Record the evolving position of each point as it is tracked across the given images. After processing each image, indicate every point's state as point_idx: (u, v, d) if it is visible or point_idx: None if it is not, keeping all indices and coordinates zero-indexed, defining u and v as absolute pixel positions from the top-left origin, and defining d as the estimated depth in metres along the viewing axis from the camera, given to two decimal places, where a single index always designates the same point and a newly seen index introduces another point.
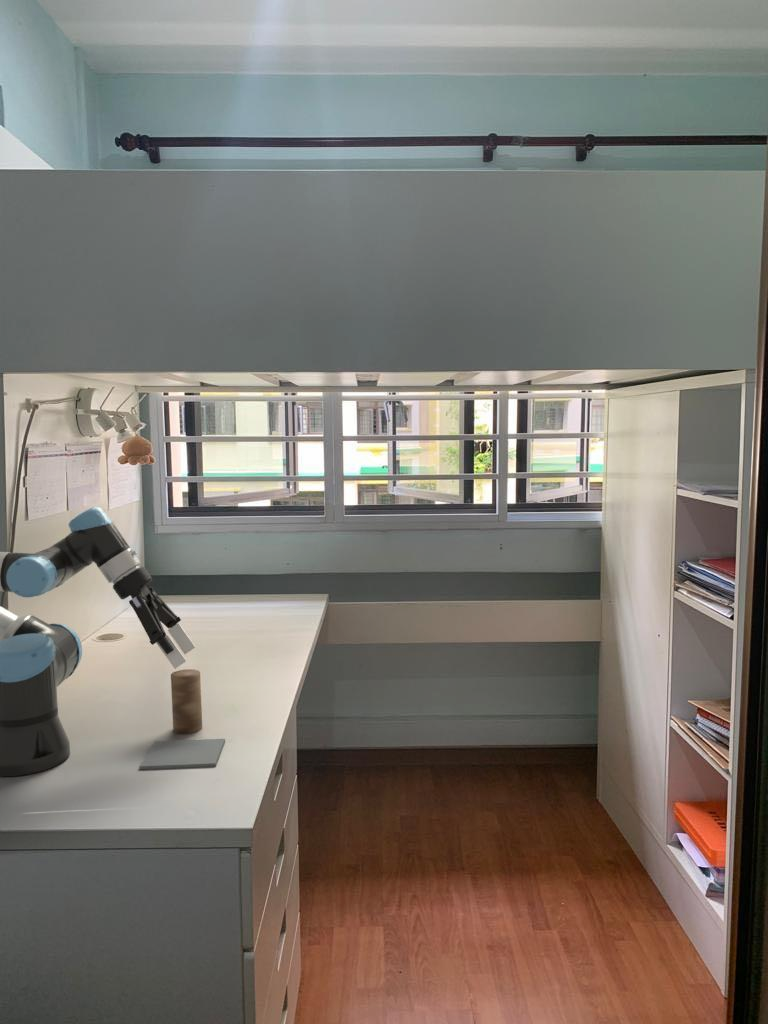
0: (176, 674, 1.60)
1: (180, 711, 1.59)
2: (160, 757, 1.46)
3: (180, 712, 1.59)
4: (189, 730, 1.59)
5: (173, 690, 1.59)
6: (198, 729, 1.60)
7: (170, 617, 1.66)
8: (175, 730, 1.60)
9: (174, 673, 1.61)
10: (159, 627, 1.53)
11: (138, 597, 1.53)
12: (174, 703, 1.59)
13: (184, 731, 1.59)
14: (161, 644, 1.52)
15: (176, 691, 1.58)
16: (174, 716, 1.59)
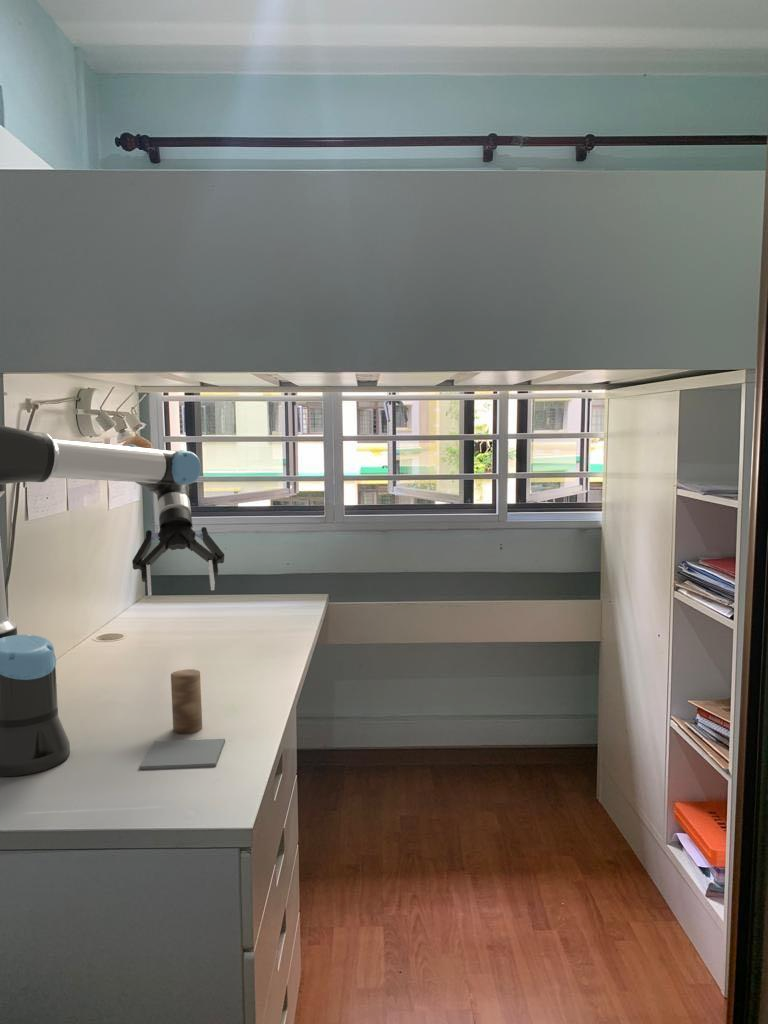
0: (176, 674, 1.60)
1: (180, 711, 1.59)
2: (160, 757, 1.46)
3: (180, 712, 1.59)
4: (189, 730, 1.59)
5: (173, 690, 1.59)
6: (198, 729, 1.60)
7: (152, 563, 1.73)
8: (175, 730, 1.60)
9: (174, 673, 1.61)
10: None
11: None
12: (174, 703, 1.59)
13: (184, 731, 1.59)
14: None
15: (176, 691, 1.58)
16: (174, 716, 1.59)
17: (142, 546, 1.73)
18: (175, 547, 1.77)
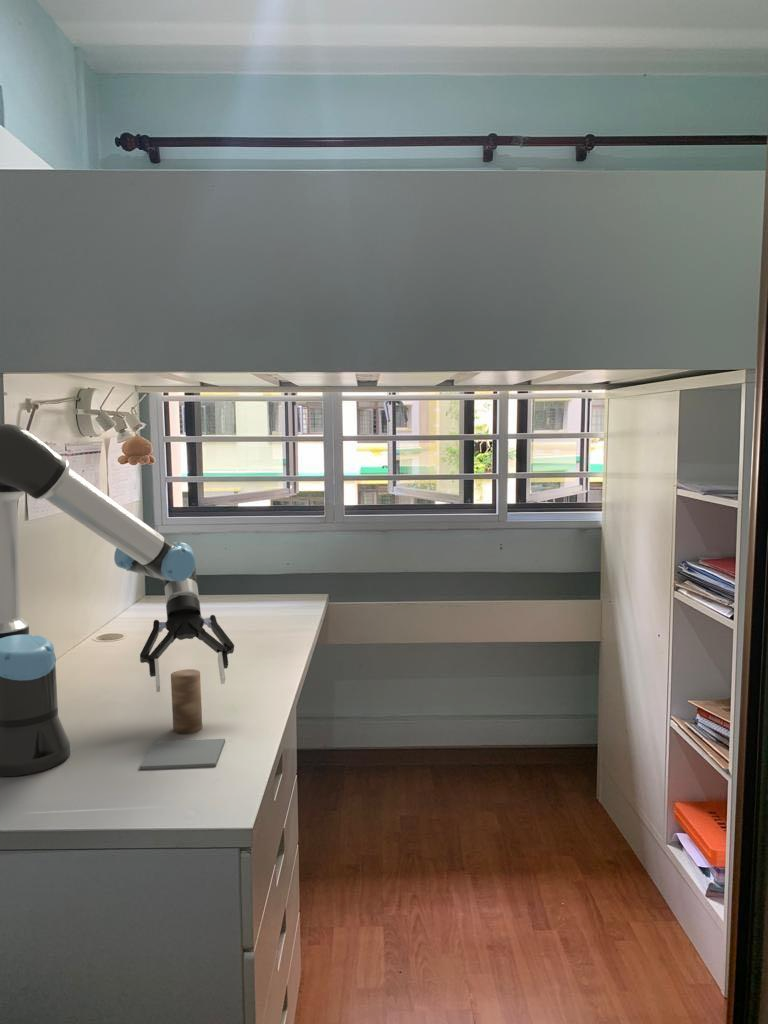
0: (176, 674, 1.60)
1: (180, 711, 1.59)
2: (160, 757, 1.46)
3: (180, 712, 1.59)
4: (189, 730, 1.59)
5: (173, 690, 1.59)
6: (198, 729, 1.60)
7: (160, 655, 1.68)
8: (175, 730, 1.60)
9: (174, 673, 1.61)
10: None
11: None
12: (174, 703, 1.59)
13: (184, 731, 1.59)
14: None
15: (176, 691, 1.58)
16: (174, 716, 1.59)
17: (150, 638, 1.68)
18: (183, 637, 1.72)
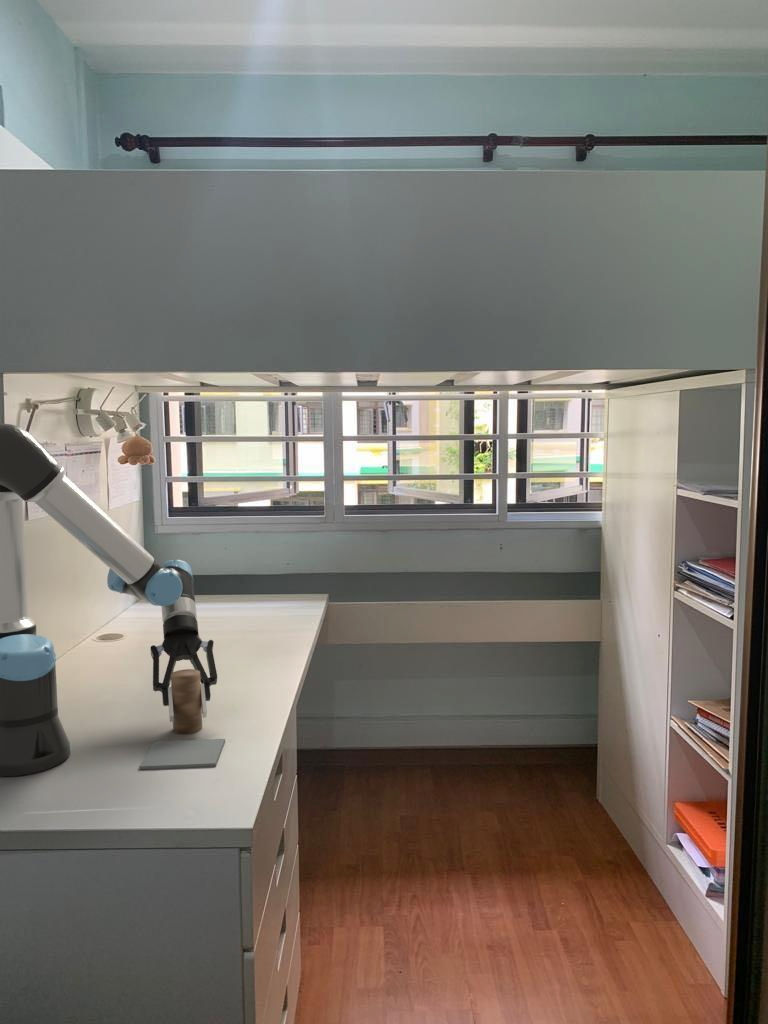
0: (176, 674, 1.60)
1: (180, 711, 1.59)
2: (160, 757, 1.46)
3: (180, 712, 1.59)
4: (189, 730, 1.59)
5: (173, 690, 1.59)
6: (198, 729, 1.60)
7: None
8: (175, 730, 1.60)
9: (174, 673, 1.61)
10: None
11: None
12: (174, 703, 1.59)
13: (184, 731, 1.59)
14: None
15: (176, 691, 1.58)
16: (174, 716, 1.59)
17: (154, 665, 1.63)
18: (180, 658, 1.66)
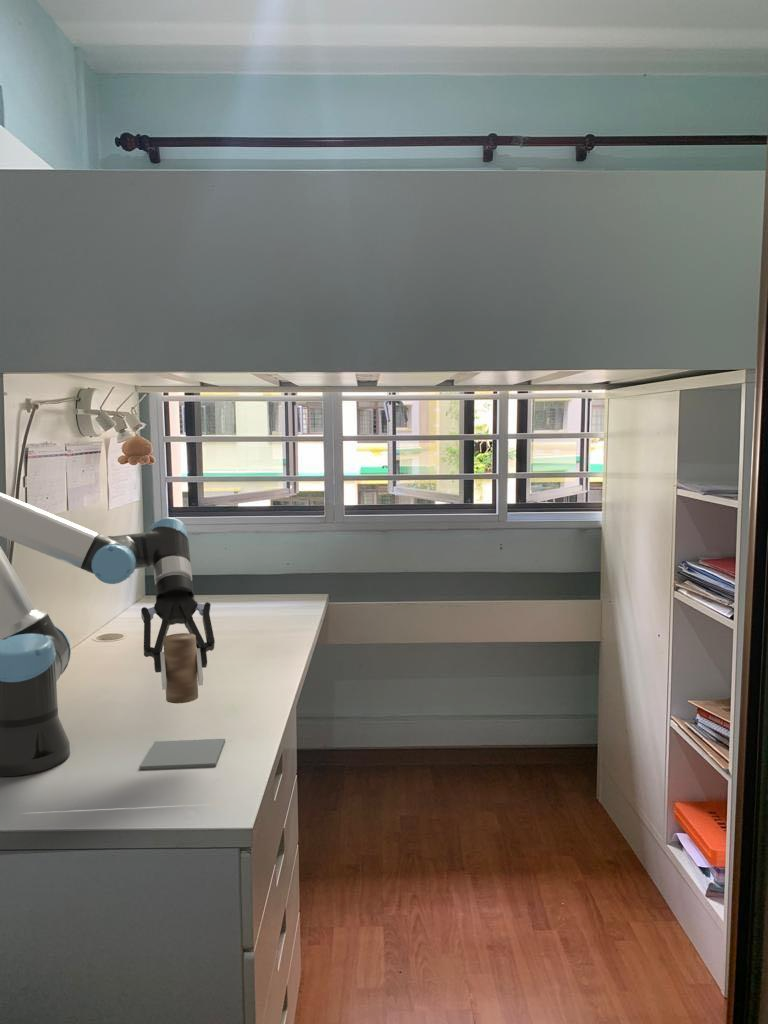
0: (169, 637, 1.46)
1: (174, 678, 1.44)
2: (160, 757, 1.46)
3: (173, 679, 1.44)
4: (184, 699, 1.44)
5: (166, 655, 1.44)
6: (193, 698, 1.46)
7: None
8: (168, 699, 1.45)
9: (167, 636, 1.47)
10: None
11: None
12: (167, 670, 1.44)
13: (178, 701, 1.44)
14: None
15: (169, 656, 1.44)
16: (167, 684, 1.45)
17: (146, 628, 1.48)
18: (174, 621, 1.52)
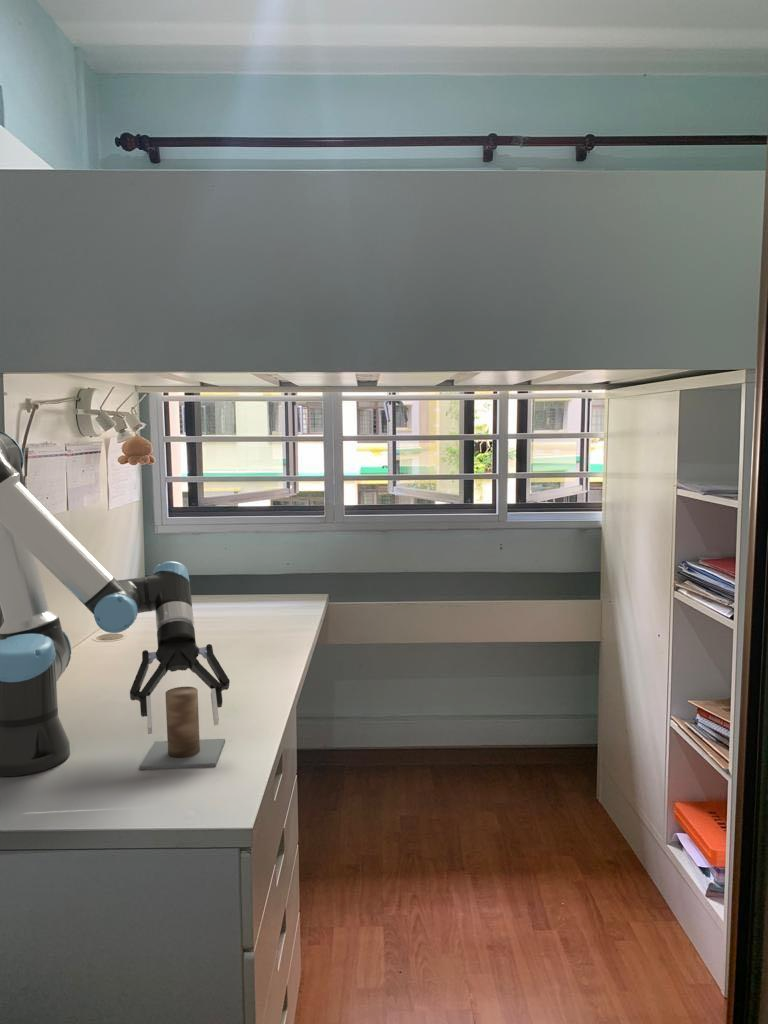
0: (171, 692, 1.47)
1: (176, 733, 1.45)
2: (160, 757, 1.46)
3: (175, 734, 1.45)
4: (185, 754, 1.45)
5: (168, 710, 1.45)
6: (195, 752, 1.47)
7: (152, 690, 1.49)
8: (170, 754, 1.46)
9: (169, 690, 1.47)
10: None
11: None
12: (169, 724, 1.45)
13: (180, 755, 1.45)
14: None
15: (171, 711, 1.45)
16: (169, 738, 1.46)
17: (139, 671, 1.49)
18: (176, 668, 1.53)
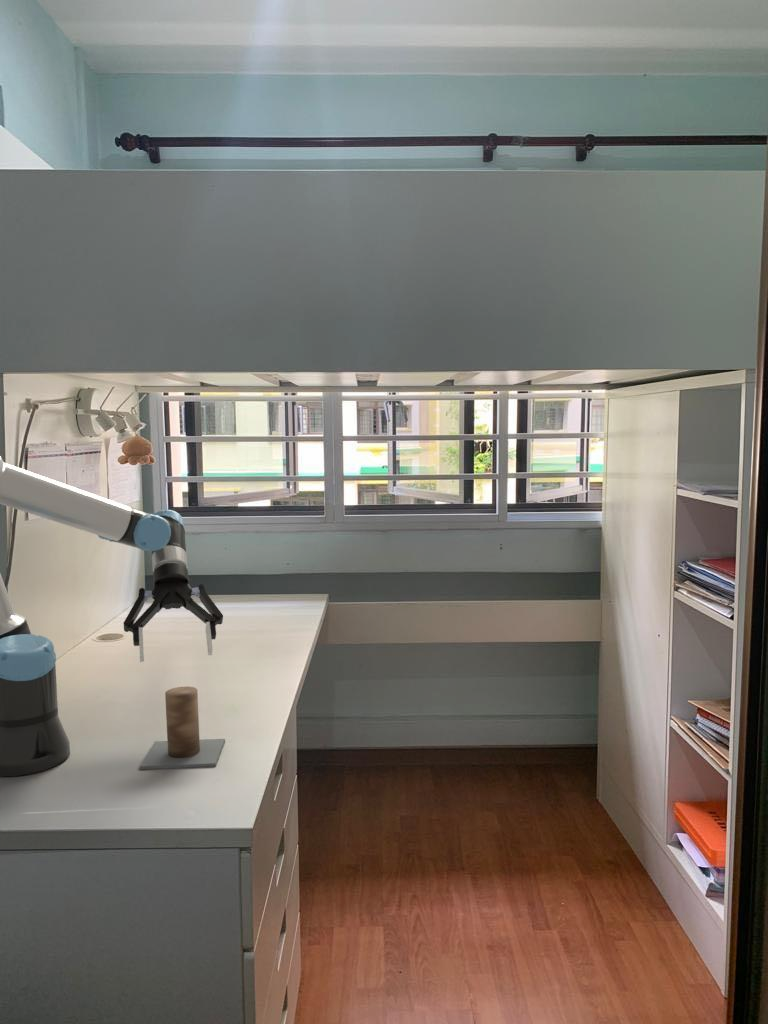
0: (171, 692, 1.47)
1: (175, 733, 1.45)
2: (160, 757, 1.46)
3: (175, 734, 1.45)
4: (185, 754, 1.45)
5: (168, 710, 1.45)
6: (195, 752, 1.47)
7: (145, 624, 1.61)
8: (170, 754, 1.46)
9: (169, 691, 1.47)
10: None
11: None
12: (169, 725, 1.45)
13: (180, 755, 1.45)
14: None
15: (171, 712, 1.45)
16: (169, 738, 1.46)
17: (134, 606, 1.60)
18: (170, 606, 1.64)
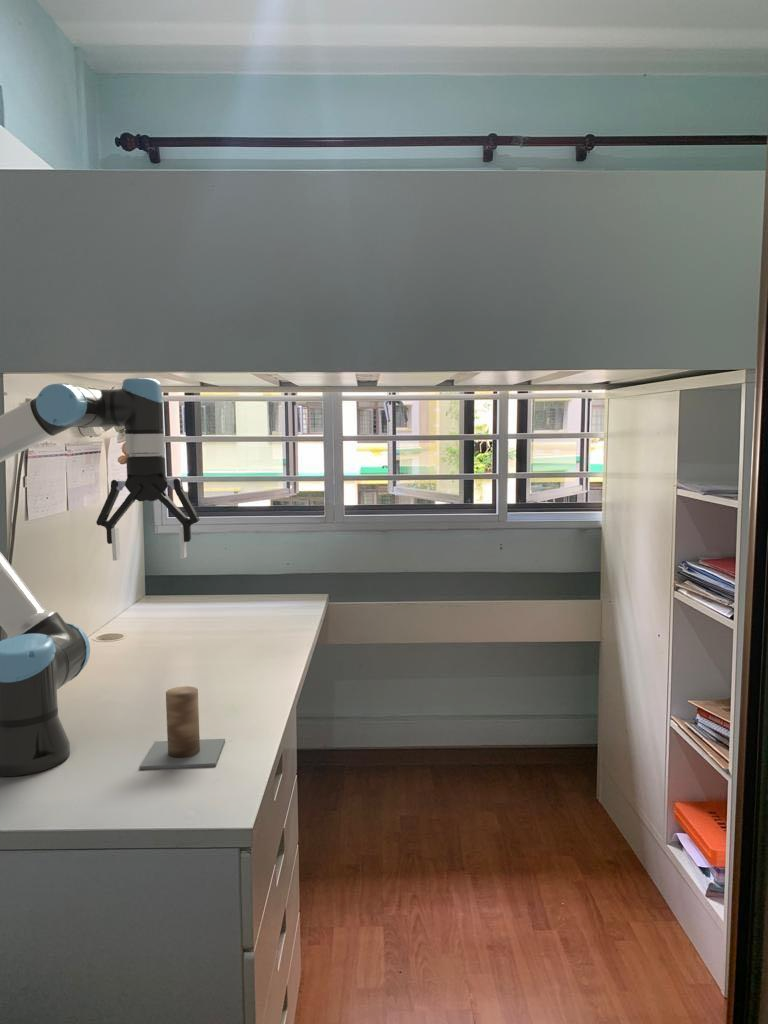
0: (171, 692, 1.47)
1: (176, 733, 1.45)
2: (160, 757, 1.46)
3: (175, 734, 1.45)
4: (185, 753, 1.45)
5: (168, 709, 1.45)
6: (195, 752, 1.47)
7: (120, 517, 1.57)
8: (170, 753, 1.46)
9: (169, 690, 1.48)
10: (184, 515, 1.58)
11: (181, 480, 1.57)
12: (169, 724, 1.45)
13: (180, 755, 1.45)
14: (189, 530, 1.57)
15: (171, 711, 1.45)
16: (169, 738, 1.46)
17: (107, 502, 1.55)
18: None
